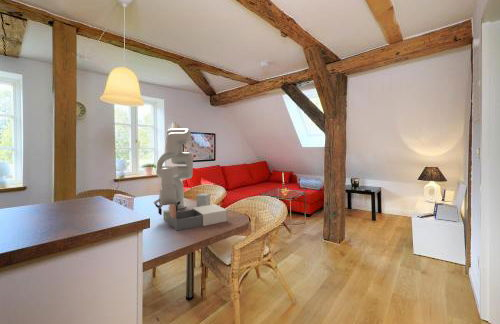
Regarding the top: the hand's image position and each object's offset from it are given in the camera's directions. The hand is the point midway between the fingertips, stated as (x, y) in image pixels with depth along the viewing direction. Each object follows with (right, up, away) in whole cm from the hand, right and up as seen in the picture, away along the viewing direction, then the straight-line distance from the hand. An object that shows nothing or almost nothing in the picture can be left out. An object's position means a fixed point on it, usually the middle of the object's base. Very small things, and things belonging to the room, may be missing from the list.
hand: (168, 213), depth 156 cm
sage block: (0, -4, +1) cm, 4 cm away
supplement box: (+19, -3, +19) cm, 27 cm away
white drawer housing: (+26, -4, +1) cm, 27 cm away
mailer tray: (+14, -5, -8) cm, 17 cm away
